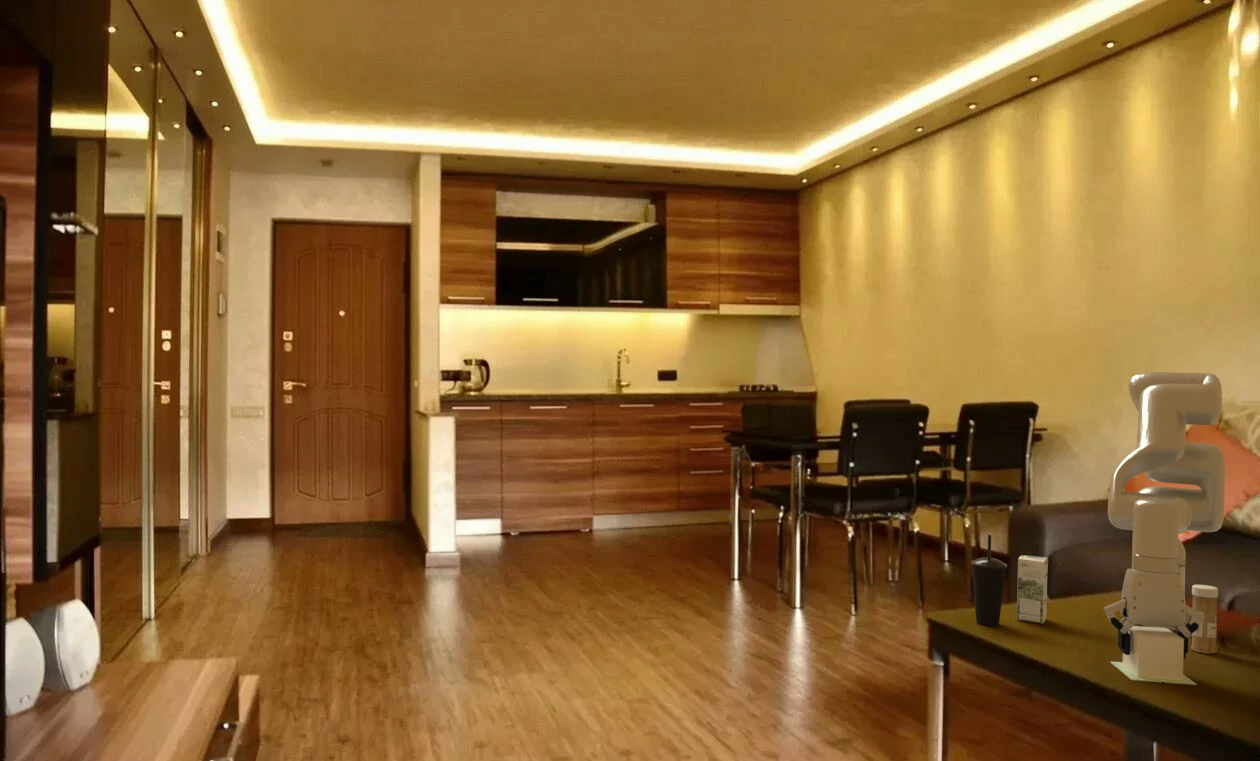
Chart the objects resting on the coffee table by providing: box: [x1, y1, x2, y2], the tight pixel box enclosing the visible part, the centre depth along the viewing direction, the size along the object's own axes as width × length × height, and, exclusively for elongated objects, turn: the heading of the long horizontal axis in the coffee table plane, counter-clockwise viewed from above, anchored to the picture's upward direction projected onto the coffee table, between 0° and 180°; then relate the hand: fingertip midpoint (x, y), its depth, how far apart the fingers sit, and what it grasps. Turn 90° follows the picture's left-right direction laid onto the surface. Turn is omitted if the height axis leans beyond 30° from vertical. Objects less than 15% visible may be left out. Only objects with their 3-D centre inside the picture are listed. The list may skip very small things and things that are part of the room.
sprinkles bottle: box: [1190, 584, 1219, 655], centre depth 189 cm, size 5×5×14 cm
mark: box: [1110, 661, 1197, 686], centre depth 173 cm, size 11×11×1 cm
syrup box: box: [1016, 554, 1049, 624], centre depth 211 cm, size 6×6×14 cm
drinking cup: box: [970, 534, 1008, 627], centre depth 207 cm, size 8×8×20 cm
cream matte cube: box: [1122, 625, 1184, 680], centre depth 173 cm, size 8×8×8 cm
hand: (1152, 654), depth 173 cm, fingers open, 9 cm apart
